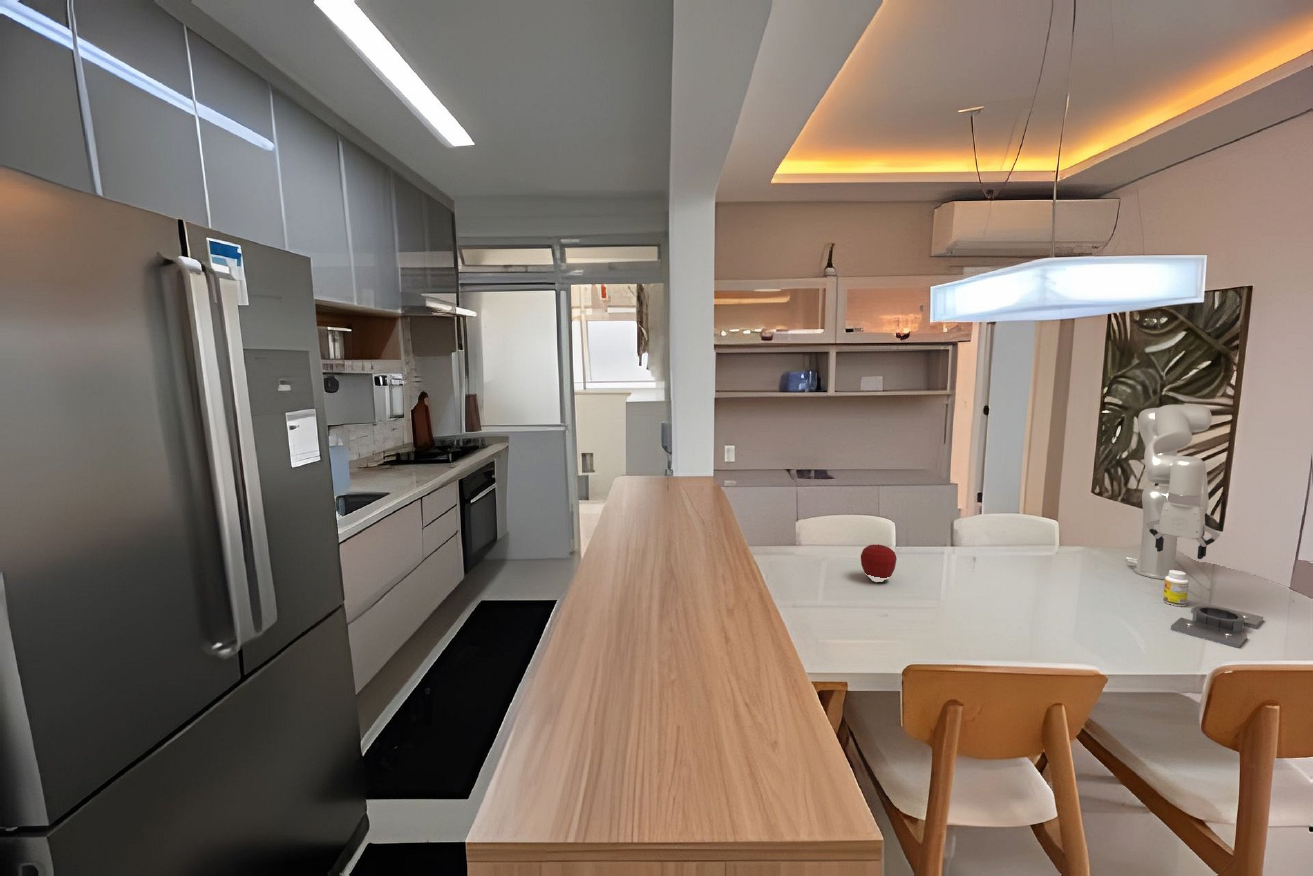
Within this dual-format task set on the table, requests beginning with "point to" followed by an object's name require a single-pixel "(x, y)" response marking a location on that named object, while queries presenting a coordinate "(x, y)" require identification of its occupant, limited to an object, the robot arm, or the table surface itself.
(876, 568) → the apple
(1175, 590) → the supplement bottle
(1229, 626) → the ring mounting bracket
